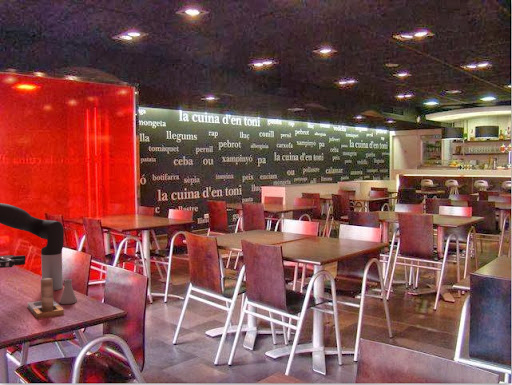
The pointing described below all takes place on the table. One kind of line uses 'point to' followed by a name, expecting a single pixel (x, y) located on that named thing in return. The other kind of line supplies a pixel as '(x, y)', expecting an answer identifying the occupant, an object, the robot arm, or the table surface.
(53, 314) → the flat wooden frame
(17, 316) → the table surface
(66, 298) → the flask
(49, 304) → the wooden peg
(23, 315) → the table surface
